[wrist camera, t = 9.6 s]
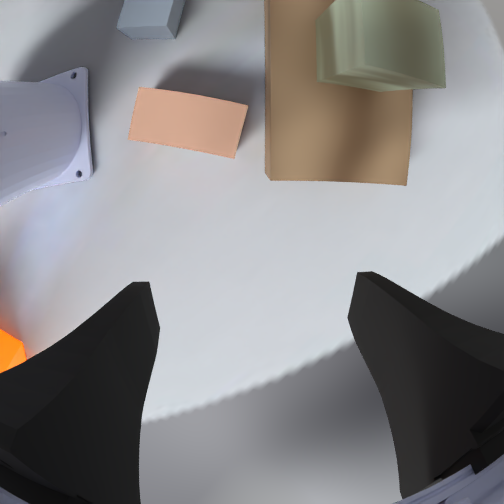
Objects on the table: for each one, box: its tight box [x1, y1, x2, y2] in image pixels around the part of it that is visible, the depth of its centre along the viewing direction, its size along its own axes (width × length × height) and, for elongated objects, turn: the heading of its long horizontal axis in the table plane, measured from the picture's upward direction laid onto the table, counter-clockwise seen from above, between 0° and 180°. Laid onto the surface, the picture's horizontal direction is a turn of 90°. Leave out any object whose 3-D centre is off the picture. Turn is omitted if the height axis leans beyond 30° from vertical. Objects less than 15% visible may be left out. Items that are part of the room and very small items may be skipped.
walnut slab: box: [264, 0, 413, 186], centre depth 14 cm, size 9×15×2 cm, turn 0°
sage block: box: [315, 0, 446, 92], centre depth 10 cm, size 4×4×6 cm
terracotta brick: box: [128, 87, 248, 159], centre depth 15 cm, size 6×3×3 cm, turn 75°
